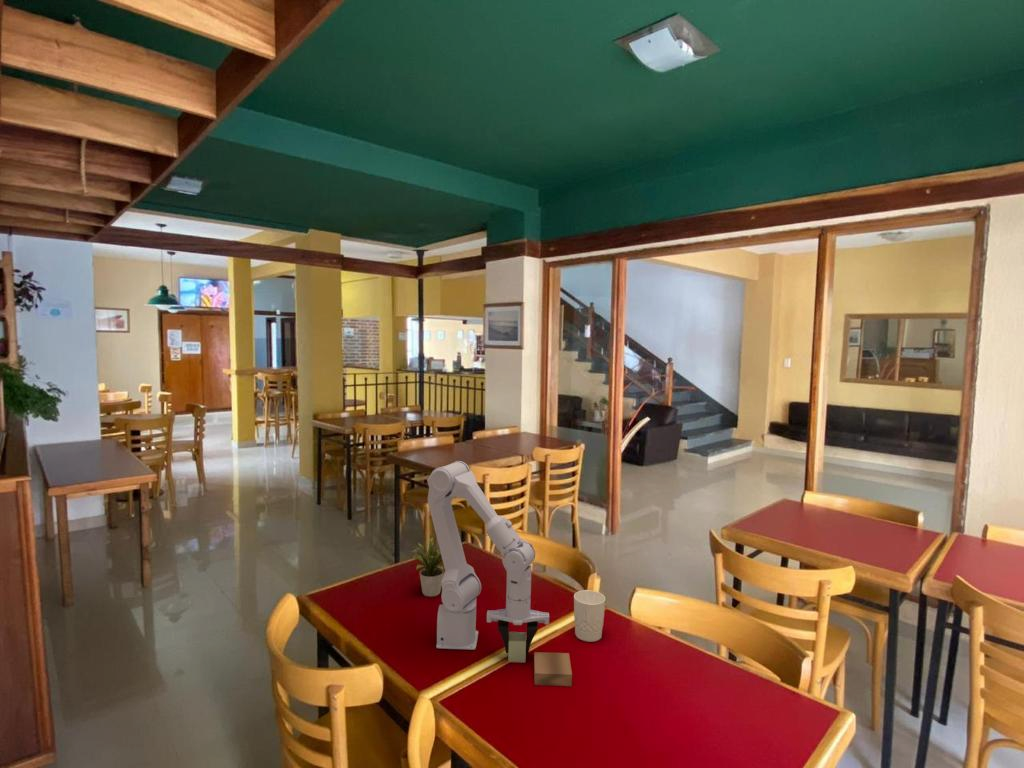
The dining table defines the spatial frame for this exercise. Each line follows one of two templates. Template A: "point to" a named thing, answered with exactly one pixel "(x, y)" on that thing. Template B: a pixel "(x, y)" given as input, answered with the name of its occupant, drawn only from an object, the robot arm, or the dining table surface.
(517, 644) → the green block
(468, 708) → the dining table surface
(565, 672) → the walnut base
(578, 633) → the white cup
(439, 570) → the house plant
